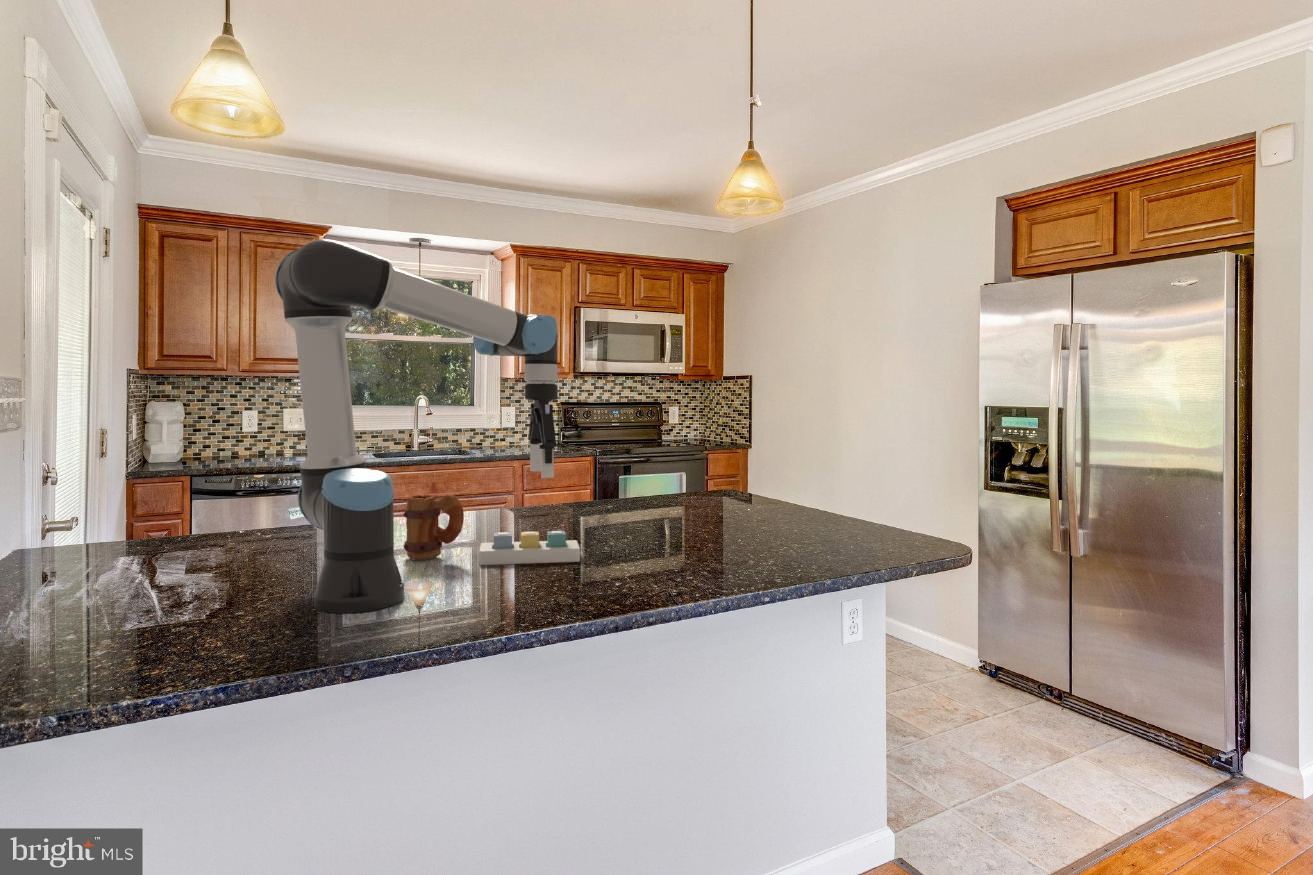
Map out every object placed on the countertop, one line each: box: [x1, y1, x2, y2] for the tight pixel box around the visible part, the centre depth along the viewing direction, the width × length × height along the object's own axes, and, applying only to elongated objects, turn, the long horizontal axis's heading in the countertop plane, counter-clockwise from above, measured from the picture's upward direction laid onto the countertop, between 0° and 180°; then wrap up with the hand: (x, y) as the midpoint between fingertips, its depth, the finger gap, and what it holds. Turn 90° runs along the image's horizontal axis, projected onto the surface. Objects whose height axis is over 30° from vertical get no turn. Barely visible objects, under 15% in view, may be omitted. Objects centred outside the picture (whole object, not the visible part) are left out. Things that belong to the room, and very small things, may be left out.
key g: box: [546, 530, 567, 547], centre depth 165 cm, size 4×4×3 cm
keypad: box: [478, 539, 581, 566], centre depth 164 cm, size 22×9×3 cm, turn 101°
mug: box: [402, 493, 465, 561], centre depth 162 cm, size 15×8×15 cm, turn 73°
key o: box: [493, 531, 513, 549], centre depth 163 cm, size 4×4×3 cm
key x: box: [520, 531, 540, 548], centre depth 164 cm, size 4×4×3 cm
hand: (541, 474), depth 168 cm, fingers open, 13 cm apart
